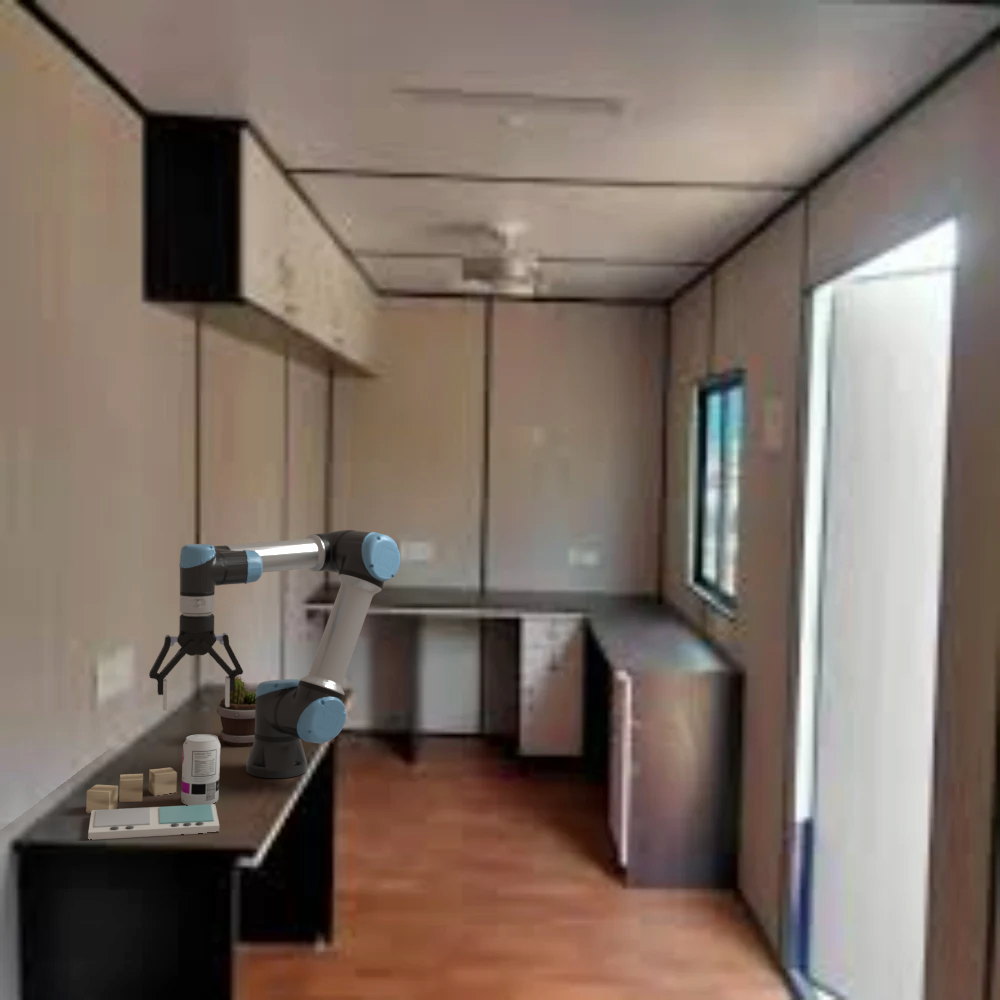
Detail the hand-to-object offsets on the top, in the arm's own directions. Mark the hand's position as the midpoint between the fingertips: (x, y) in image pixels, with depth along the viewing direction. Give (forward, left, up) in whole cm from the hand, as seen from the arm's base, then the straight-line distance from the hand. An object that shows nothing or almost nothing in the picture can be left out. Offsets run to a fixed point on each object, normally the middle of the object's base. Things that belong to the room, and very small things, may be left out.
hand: (196, 707), depth 251 cm
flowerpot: (-57, +16, -23) cm, 63 cm away
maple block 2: (-9, -13, -23) cm, 28 cm away
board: (+11, -8, -23) cm, 26 cm away
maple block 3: (-13, -6, -23) cm, 27 cm away
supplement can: (-3, +2, -23) cm, 23 cm away
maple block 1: (-1, -19, -23) cm, 30 cm away
